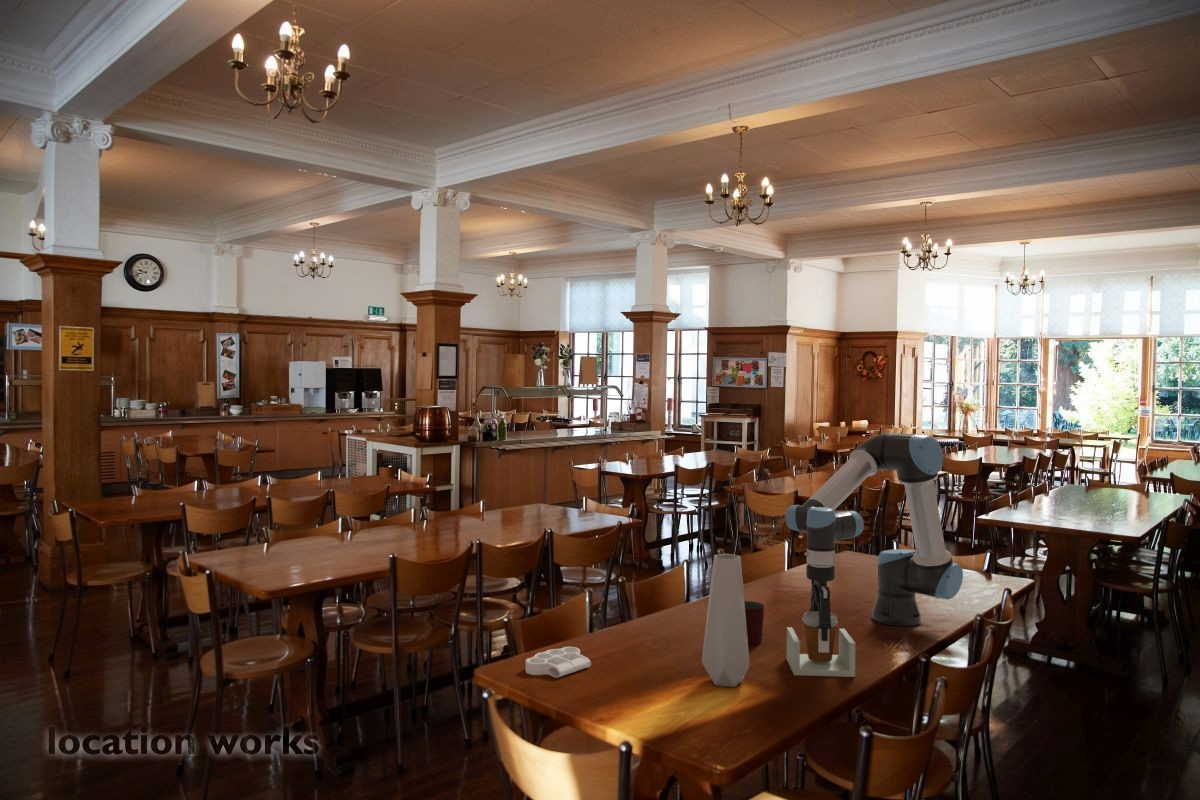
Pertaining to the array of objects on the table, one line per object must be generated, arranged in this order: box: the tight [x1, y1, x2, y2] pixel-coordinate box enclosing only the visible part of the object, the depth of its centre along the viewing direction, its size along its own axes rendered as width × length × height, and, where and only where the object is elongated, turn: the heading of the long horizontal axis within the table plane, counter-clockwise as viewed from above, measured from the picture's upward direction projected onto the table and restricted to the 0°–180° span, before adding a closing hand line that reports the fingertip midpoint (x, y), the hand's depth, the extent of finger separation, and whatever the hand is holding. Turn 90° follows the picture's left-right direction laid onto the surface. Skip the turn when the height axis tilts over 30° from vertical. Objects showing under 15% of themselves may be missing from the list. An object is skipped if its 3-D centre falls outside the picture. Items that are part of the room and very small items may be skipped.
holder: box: [786, 626, 856, 678], centre depth 224 cm, size 16×13×9 cm
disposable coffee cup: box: [801, 610, 839, 662], centre depth 224 cm, size 10×10×12 cm
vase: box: [701, 553, 750, 688], centre depth 213 cm, size 12×12×33 cm
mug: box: [744, 600, 765, 646], centre depth 246 cm, size 12×9×11 cm
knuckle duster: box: [525, 646, 592, 679], centre depth 224 cm, size 3×18×15 cm
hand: (820, 646), depth 224 cm, fingers closed on disposable coffee cup, 9 cm apart
